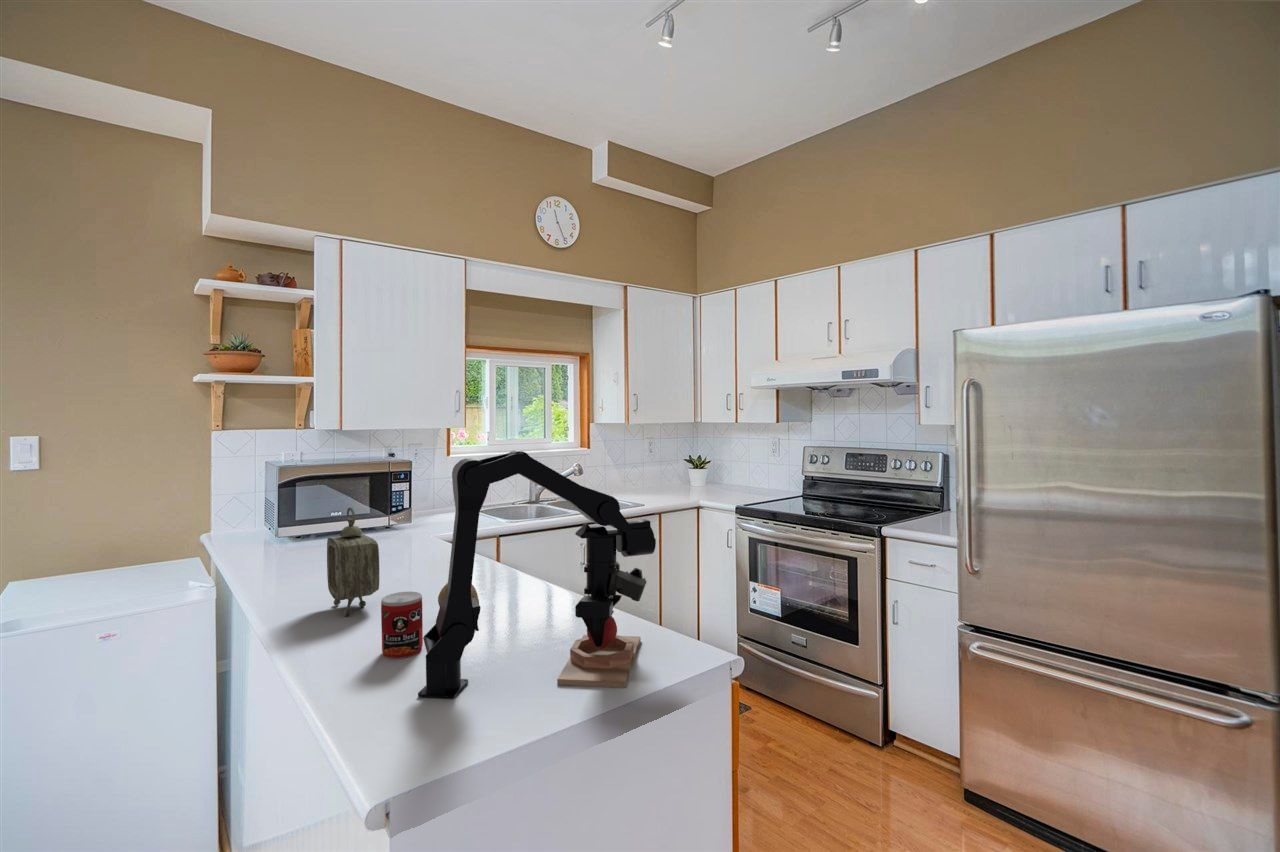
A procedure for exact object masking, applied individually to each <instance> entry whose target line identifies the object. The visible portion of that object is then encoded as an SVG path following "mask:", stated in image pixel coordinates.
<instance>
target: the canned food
mask: <svg viewBox="0 0 1280 852" xmlns="http://www.w3.org/2000/svg"><path fill="white" fill-rule="evenodd" d="M422 595H423V594H422V593H421V592H417V591H400V592H394V593H390V594H387V595H385V596H383V597H382V598H381V601H380V605H381V606H380V612H381V617H380V620H381V652H382V654H383V656H384V657H385V658H389V659H403V658H408V656H409V657H411V656H414V655H417V654H418V653H419V652H420V651H421V650H422V648H423V643H424V639H423V637H424V636H423V634H424V633H423V632H424V630H423V629H424V627H423V596H422Z"/></svg>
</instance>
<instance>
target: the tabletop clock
mask: <svg viewBox="0 0 1280 852" xmlns="http://www.w3.org/2000/svg"><path fill="white" fill-rule="evenodd" d="M350 512H351V514H352V518H350V516H349V515H350ZM346 520H347V523H348V526H345V527H343V528H342V529H341V531H340V533H339V536H331V537H328V538H327V540H326V541H327V542H326V574H327V575H326V577H327V589H328V592H329V594H330V595H331V597H332V598H333V599H334V600H333V605H334V606H339V605H340V604H341V601H344V600H347V605H346V609H343V613H342V614H343V616H344V617H348V616H350V615H351V610H350V608H351V605H352V602H353V601H354V600H355V599H356V598H358V600H359V602H358V606H359V607H360V608H365V606H367V603H366V601H365V600H363V597H367V596H372V595H373V594H374V593H376V592H377V591H378V590H379V589H380V551H379V549H380V548H379V544H378V542H377V540H375V539H374V538H373V537H370V536H368V535H365V534H363V531H362V529H361V528H360V527H359V526H356V525H355V523H356V513H355V510H354V508H353V507H347V510H346Z"/></svg>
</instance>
